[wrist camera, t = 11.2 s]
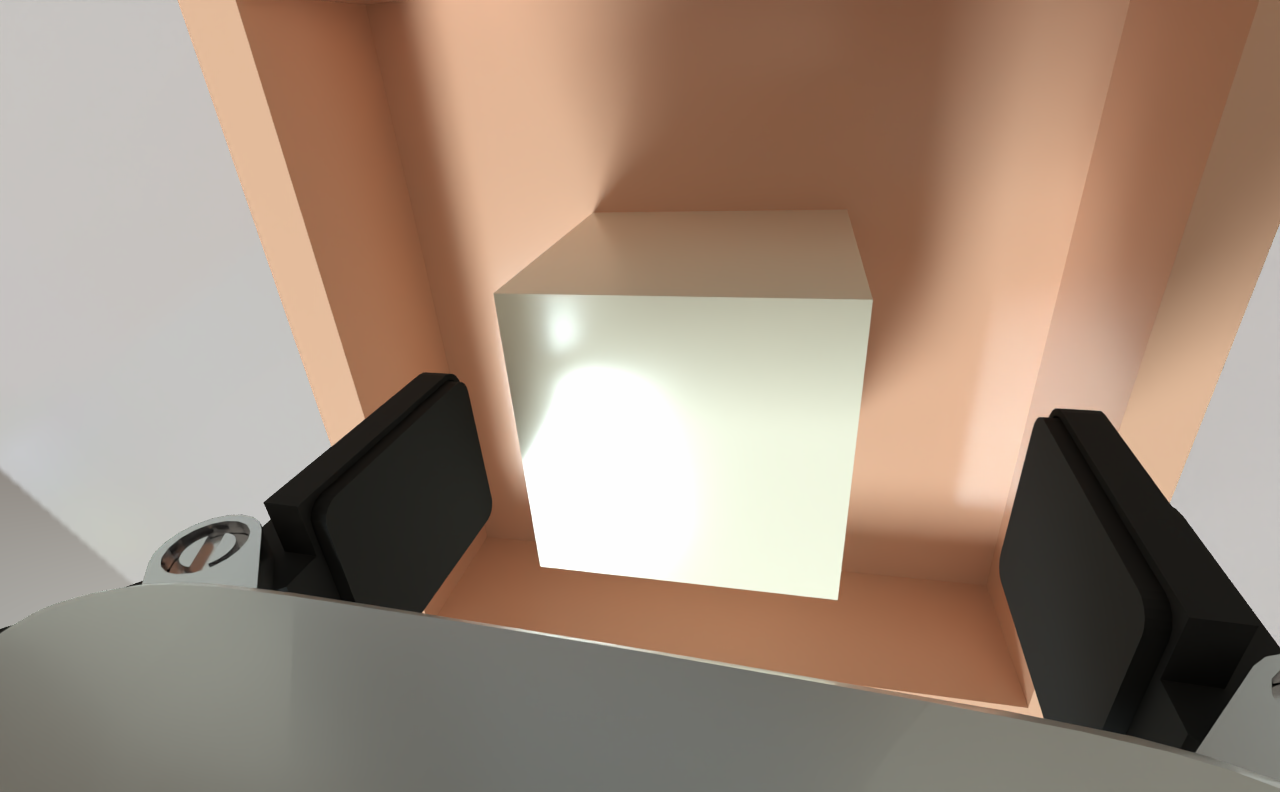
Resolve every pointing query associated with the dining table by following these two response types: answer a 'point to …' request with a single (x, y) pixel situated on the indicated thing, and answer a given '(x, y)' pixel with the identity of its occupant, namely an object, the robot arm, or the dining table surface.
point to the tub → (780, 180)
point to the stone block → (692, 395)
